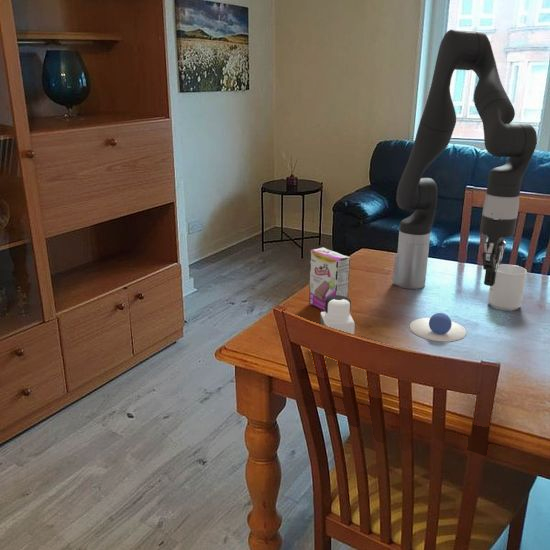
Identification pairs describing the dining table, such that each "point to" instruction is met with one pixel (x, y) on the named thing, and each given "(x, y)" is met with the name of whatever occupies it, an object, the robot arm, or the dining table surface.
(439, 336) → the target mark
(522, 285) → the mug
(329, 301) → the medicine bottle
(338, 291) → the candy bar box
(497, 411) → the dining table surface
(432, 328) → the ball
